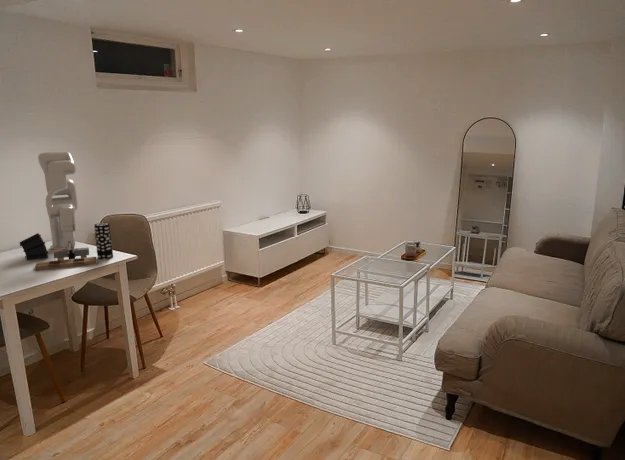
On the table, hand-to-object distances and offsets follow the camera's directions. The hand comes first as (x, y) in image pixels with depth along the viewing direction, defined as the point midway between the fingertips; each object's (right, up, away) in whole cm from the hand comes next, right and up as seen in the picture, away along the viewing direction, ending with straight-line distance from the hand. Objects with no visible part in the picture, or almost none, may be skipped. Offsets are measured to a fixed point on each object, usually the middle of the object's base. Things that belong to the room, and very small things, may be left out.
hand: (72, 258), depth 277 cm
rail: (+2, -3, -10) cm, 11 cm away
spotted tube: (+17, 0, +5) cm, 18 cm away
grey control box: (0, -1, 0) cm, 1 cm away
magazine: (-22, -1, +2) cm, 22 cm away
